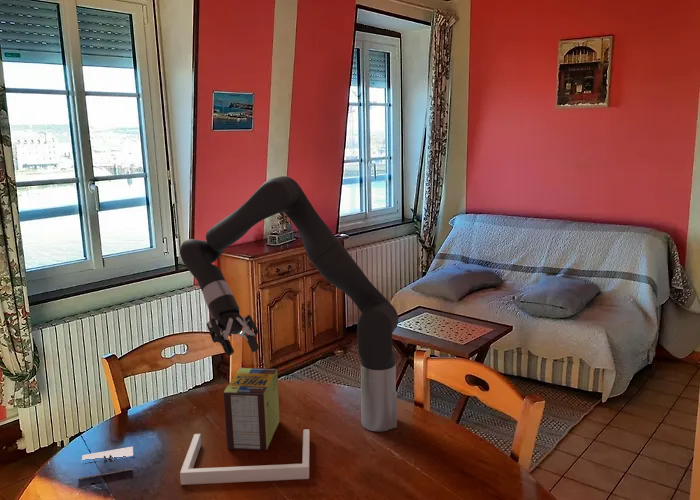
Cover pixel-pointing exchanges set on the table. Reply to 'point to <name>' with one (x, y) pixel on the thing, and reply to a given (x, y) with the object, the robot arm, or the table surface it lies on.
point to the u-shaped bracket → (242, 468)
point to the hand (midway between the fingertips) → (243, 352)
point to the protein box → (251, 408)
